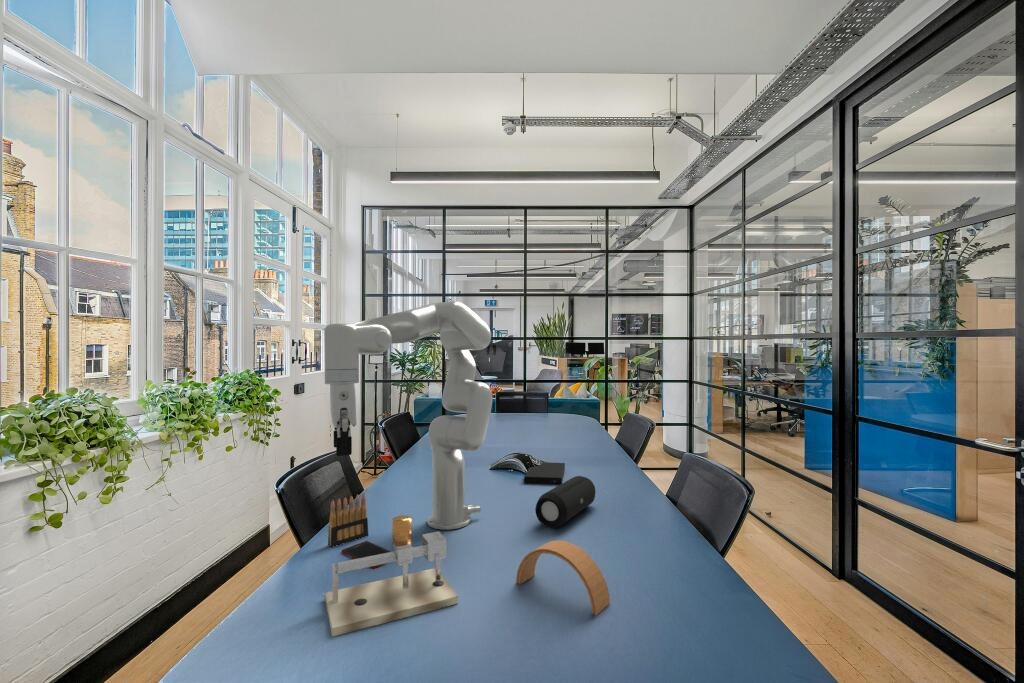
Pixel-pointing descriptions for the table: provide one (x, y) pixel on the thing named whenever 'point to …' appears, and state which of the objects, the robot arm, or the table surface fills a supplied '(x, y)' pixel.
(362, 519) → the ammunition clip
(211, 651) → the table surface
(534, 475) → the external hard drive
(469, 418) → the robot arm
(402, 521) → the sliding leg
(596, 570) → the arch
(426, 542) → the frame
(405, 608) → the hole plate
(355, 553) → the cell phone
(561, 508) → the portable speaker
